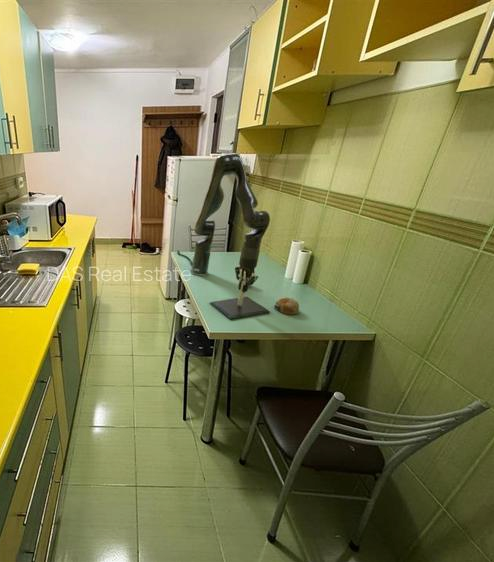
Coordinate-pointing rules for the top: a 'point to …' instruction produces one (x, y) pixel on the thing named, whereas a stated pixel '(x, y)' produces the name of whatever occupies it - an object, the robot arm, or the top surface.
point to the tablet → (239, 308)
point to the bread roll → (287, 306)
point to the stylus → (241, 295)
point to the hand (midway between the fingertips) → (242, 290)
